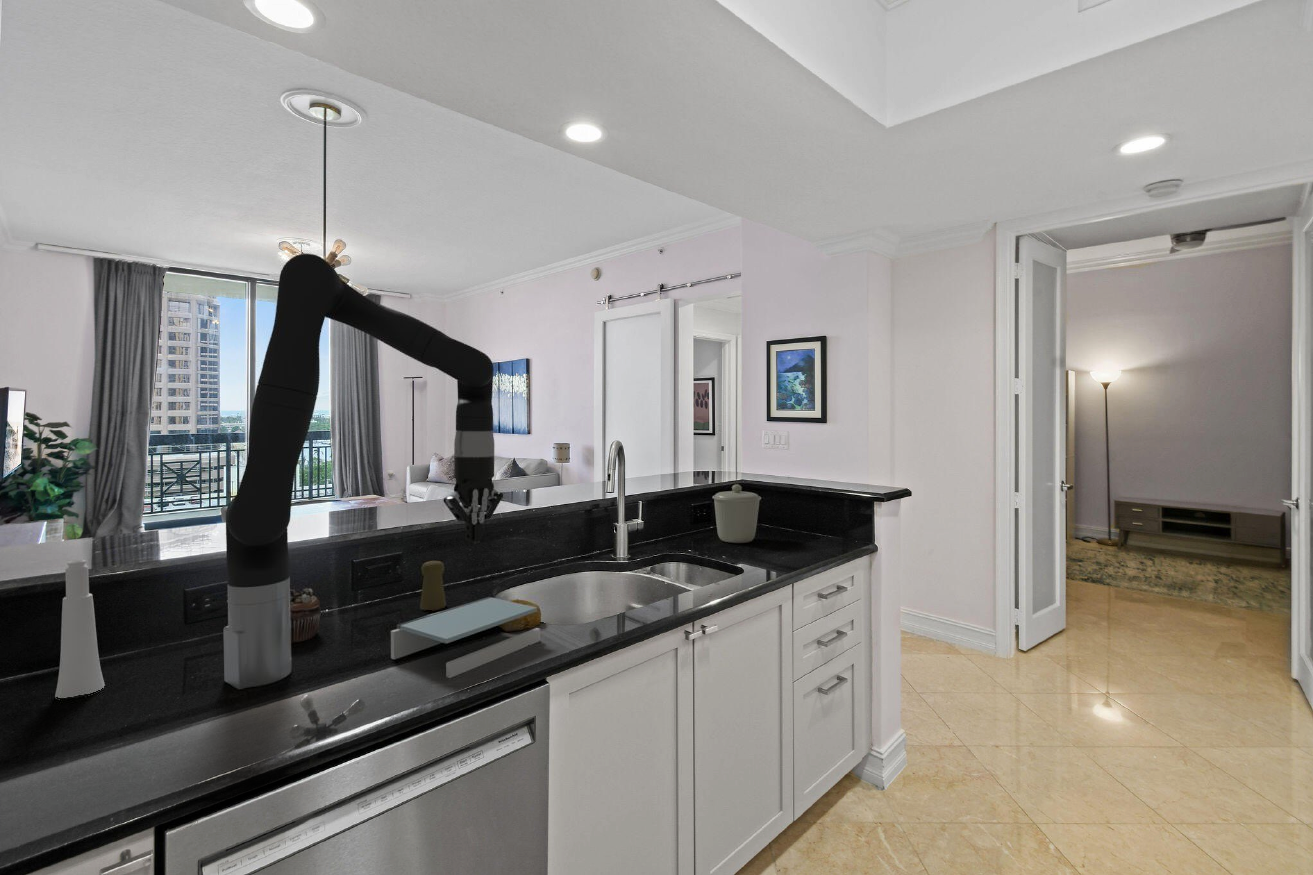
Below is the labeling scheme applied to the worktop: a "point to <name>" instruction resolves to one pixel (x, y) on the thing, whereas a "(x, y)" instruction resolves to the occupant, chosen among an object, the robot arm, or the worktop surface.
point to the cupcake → (303, 614)
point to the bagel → (523, 619)
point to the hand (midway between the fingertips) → (474, 542)
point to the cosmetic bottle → (78, 637)
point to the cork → (432, 586)
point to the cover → (466, 619)
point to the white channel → (411, 643)
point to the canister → (736, 515)
